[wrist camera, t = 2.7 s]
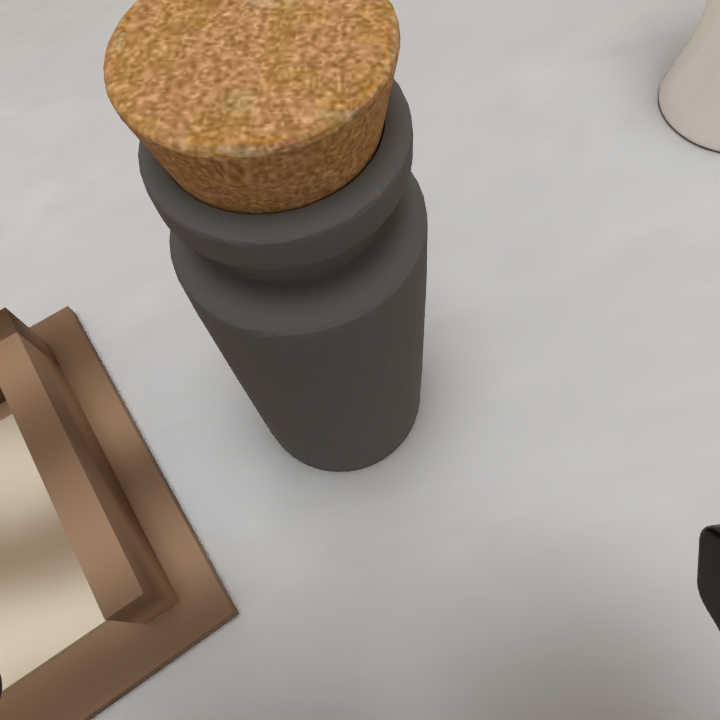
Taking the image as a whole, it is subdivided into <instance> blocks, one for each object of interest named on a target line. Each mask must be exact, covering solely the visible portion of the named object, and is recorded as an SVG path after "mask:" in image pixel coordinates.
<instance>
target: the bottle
mask: <svg viewBox="0 0 720 720" xmlns="http://www.w3.org/2000/svg"><path fill="white" fill-rule="evenodd" d="M399 50H400V31H399V23H398V20H397V17H396V14H395V11H394V8H393V6H392V4H391V2H390V1H389V0H138V1H137V2H136V3H135V4H134V5H133V6H132V7H131V8H130V9H129V10H128V11H127V13H126V14H125V15H124V16H123V17H122V19H121V20H120V22H119V23H118V25H117V27H116V29H115V31H114V32H113V34H112V36H111V38H110V40H109V42H108V46H107V49H106V53H105V60H104V68H103V69H104V81H105V86H106V91H107V95H108V97H109V99H110V101H111V103H112V105H113V107H114V108H115V110H116V111H117V113H118V115H119V116H120V118H121V119H122V120H123V122H124V123H125V124H126V125H127V126H128V127H129V128H130V130H131V131H132V132H133V133H134V134H135V135H136V136H137V137H138V139H139V140H140V143H139V152H138V158H139V166H140V173H141V176H142V179H143V182H144V184H145V187H146V190H147V193H148V194H149V196H150V198H151V200H152V202H153V203H154V205H155V207H156V209H157V211H158V212H159V214H160V216H161V217H162V219H163V220H164V222H165V223H166V225H167V226H168V227H169V228H170V252H171V259H172V262H173V266H174V269H175V272H176V275H177V277H178V280H179V282H180V283H181V285H182V287H183V289H184V291H185V292H186V294H187V296H188V298H189V300H190V301H191V303H192V305H193V307H194V309H195V310H196V312H197V314H198V315H199V317H200V319H201V320H202V322H203V323H204V325H205V327H206V328H207V330H208V332H209V333H210V335H211V336H212V338H213V340H214V341H215V343H216V345H217V346H218V348H219V350H220V351H221V353H222V354H223V356H224V358H225V359H226V361H227V363H228V364H229V366H230V367H231V369H232V371H233V372H234V374H235V376H236V377H237V379H238V380H239V382H240V384H241V385H242V387H243V388H244V390H245V391H246V393H247V395H248V396H249V398H250V399H251V401H252V402H253V404H254V406H255V407H256V409H257V410H258V412H259V414H260V415H261V417H262V418H263V420H264V421H265V423H266V425H267V426H268V428H269V429H270V431H271V432H272V434H273V435H274V436H275V438H276V439H277V440H278V441H279V443H280V444H281V445H282V446H283V447H284V449H285V450H286V451H287V452H289V453H290V454H291V455H292V456H294V457H295V458H297V459H298V460H300V461H302V462H304V463H306V464H308V465H310V466H313V467H315V468H319V469H324V470H330V471H351V470H355V469H359V468H363V467H366V466H369V465H371V464H374V463H376V462H378V461H380V460H381V459H383V458H385V457H386V456H388V455H389V454H390V453H392V452H393V451H394V450H395V449H396V448H397V447H398V446H399V445H400V444H401V442H402V441H403V440H404V439H405V438H406V436H407V435H408V433H409V431H410V429H411V428H412V426H413V423H414V421H415V418H416V415H417V412H418V407H419V401H420V388H421V374H422V358H423V338H424V318H425V297H426V276H427V228H428V225H427V212H426V207H425V201H424V196H423V194H422V191H421V189H420V187H419V184H418V182H417V180H416V178H415V177H414V175H413V174H412V172H411V165H412V158H413V129H412V120H411V114H410V110H409V106H408V103H407V101H406V99H405V97H404V95H403V92H402V90H401V88H400V86H399V85H398V83H397V82H396V81H395V80H394V74H395V69H396V65H397V60H398V55H399Z"/></svg>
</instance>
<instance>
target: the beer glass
mask: <svg viewBox="0 0 720 720" xmlns="http://www.w3.org/2000/svg"><path fill="white" fill-rule="evenodd" d="M659 105H660V109H661V111H662V113H663V115H664V117H665V119H666V120H667V121H668V123H669V124H670V125H671V126H672V127H673V128H674V129H675V130H676V131H677V132H678V133H679V134H681V135H682V136H683V137H685V138H686V139H688V140H690V141H691V142H693V143H695V144H698V145H700V146H702V147H705V148H708V149H711V150H715V151H719V152H720V0H708V3H707V5H706V8H705V10H704V13H703V15H702V18H701V20H700V22H699V24H698V25H697V27H696V29H695V31H694V33H693V35H692V36H691V38H690V39H689V41H688V43H687V44H686V45H685V47H684V48H683V50H682V51H681V52H680V54H679V55H678V57H677V58H676V60H675V61H674V62H673V64H672V65H671V67H670V68H669V70H668V71H667V73H666V74H665V76H664V78H663V80H662V82H661V85H660V89H659Z"/></svg>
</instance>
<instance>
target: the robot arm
mask: <svg viewBox="0 0 720 720" xmlns="http://www.w3.org/2000/svg"><path fill="white" fill-rule="evenodd" d="M697 585H698V590H699V594H700V597H701V599H702V601H703V603H704V605H705V607H706V609H707V610H708V612H709V614H710V615H711V617H712V619H713V620H714V622H715V624H716V625H717V627H718V629H719V631H720V524H718V525H711V526H707V527H705V528H704V529H703V530H702V531H701V534H700V538H699V555H698V575H697ZM1 695H2V678H1V674H0V699H1Z"/></svg>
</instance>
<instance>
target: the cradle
mask: <svg viewBox="0 0 720 720" xmlns="http://www.w3.org/2000/svg"><path fill="white" fill-rule="evenodd" d="M238 614H239V613H238V611H237V610H236V608H235V606H234V604H233V602H232V600H231V599H230V597H229V595H228V593H227V591H226V589H225V588H224V586H223V584H222V582H221V580H220V578H219V577H218V575H217V573H216V571H215V569H214V567H213V566H212V564H211V562H210V560H209V558H208V556H207V555H206V553H205V551H204V549H203V547H202V545H201V544H200V542H199V540H198V538H197V536H196V534H195V533H194V531H193V529H192V527H191V525H190V523H189V522H188V520H187V518H186V516H185V514H184V512H183V510H182V509H181V507H180V505H179V503H178V501H177V499H176V498H175V496H174V494H173V492H172V490H171V488H170V487H169V485H168V483H167V481H166V479H165V477H164V476H163V474H162V472H161V470H160V468H159V466H158V465H157V463H156V461H155V459H154V457H153V455H152V454H151V452H150V450H149V448H148V446H147V444H146V443H145V441H144V439H143V437H142V435H141V433H140V432H139V430H138V428H137V426H136V424H135V422H134V421H133V419H132V417H131V415H130V413H129V411H128V410H127V408H126V406H125V404H124V402H123V400H122V399H121V397H120V395H119V393H118V391H117V389H116V388H115V386H114V384H113V382H112V380H111V378H110V377H109V375H108V373H107V371H106V369H105V367H104V366H103V364H102V362H101V360H100V358H99V356H98V354H97V353H96V351H95V349H94V347H93V345H92V343H91V342H90V340H89V338H88V336H87V334H86V332H85V331H84V329H83V327H82V325H81V323H80V321H79V320H78V318H77V316H76V314H75V313H74V312H73V311H72V310H71V309H70V308H69V307H68V306H67V307H65V308H63V309H62V310H60V311H58V312H56V313H55V314H53V315H51V316H49V317H47V318H46V319H44V320H42V321H40V322H39V323H37V324H35V325H33V326H32V327H30V328H29V327H27V326H26V325H25V324H24V323H23V322H22V321H20V320H19V319H18V318H17V317H16V316H15V315H13V314H12V313H11V312H10V311H9V310H8V309H6V308H4V309H2V310H0V674H1V678H2V695H1V699H0V720H90V719H91V718H92V717H94V716H95V715H97V714H98V713H100V712H101V711H102V710H104V709H105V708H107V707H108V706H109V705H111V704H112V703H114V702H115V701H116V700H118V699H119V698H121V697H122V696H123V695H125V694H126V693H128V692H129V691H131V690H132V689H133V688H135V687H136V686H138V685H139V684H140V683H142V682H143V681H145V680H146V679H147V678H149V677H150V676H152V675H153V674H154V673H156V672H157V671H159V670H160V669H162V668H163V667H164V666H166V665H167V664H169V663H170V662H171V661H173V660H174V659H176V658H177V657H178V656H180V655H181V654H183V653H184V652H185V651H187V650H188V649H190V648H191V647H192V646H194V645H195V644H197V643H198V642H200V641H201V640H202V639H204V638H205V637H207V636H208V635H209V634H211V633H212V632H214V631H215V630H216V629H218V628H219V627H221V626H222V625H223V624H225V623H226V622H228V621H229V620H231V619H232V618H233V617H235V616H236V615H238Z"/></svg>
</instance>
